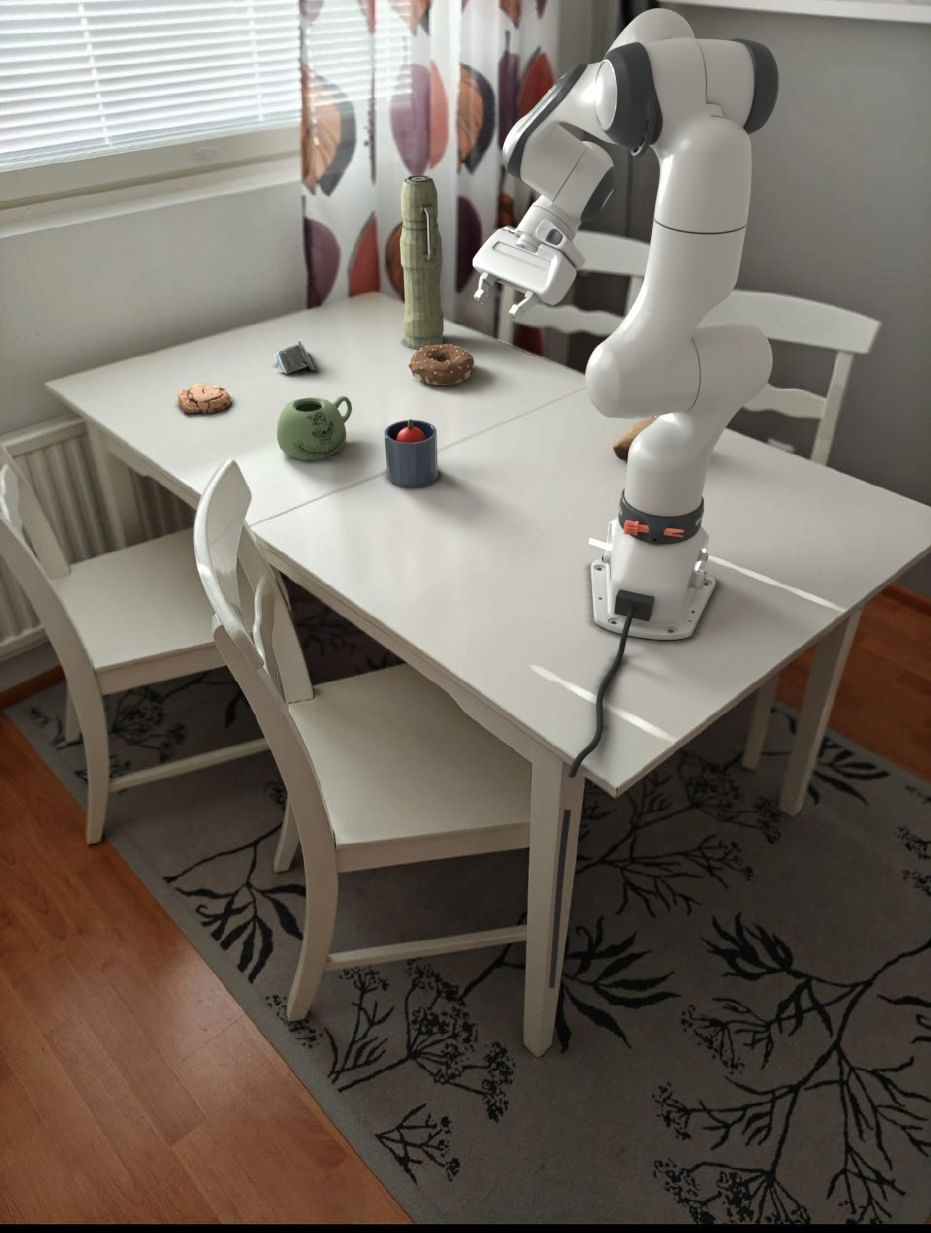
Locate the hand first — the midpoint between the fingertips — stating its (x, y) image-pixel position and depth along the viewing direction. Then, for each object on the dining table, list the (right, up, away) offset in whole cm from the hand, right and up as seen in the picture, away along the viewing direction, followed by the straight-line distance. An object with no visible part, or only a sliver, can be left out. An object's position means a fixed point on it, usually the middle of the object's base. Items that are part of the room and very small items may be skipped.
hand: (495, 308), depth 167 cm
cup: (-14, -26, +11) cm, 32 cm away
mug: (-32, -20, +20) cm, 43 cm away
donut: (-10, -1, +44) cm, 45 cm away
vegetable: (+29, -23, +15) cm, 40 cm away
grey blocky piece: (-42, +3, +49) cm, 65 cm away
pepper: (-14, -26, +10) cm, 31 cm away
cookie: (-58, -9, +34) cm, 68 cm away
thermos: (-14, +11, +59) cm, 61 cm away
